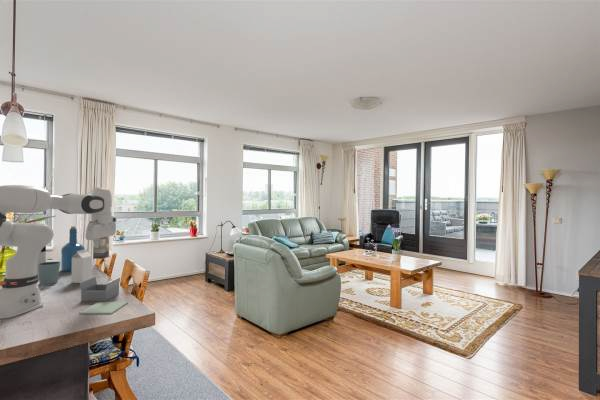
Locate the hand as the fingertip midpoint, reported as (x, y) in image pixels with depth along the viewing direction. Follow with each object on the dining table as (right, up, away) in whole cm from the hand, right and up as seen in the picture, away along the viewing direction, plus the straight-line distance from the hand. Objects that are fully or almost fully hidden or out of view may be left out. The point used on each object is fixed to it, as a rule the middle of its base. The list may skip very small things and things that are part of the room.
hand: (101, 246), depth 162 cm
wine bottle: (-56, -25, +57) cm, 84 cm away
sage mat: (+11, -26, -15) cm, 32 cm away
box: (0, -6, 0) cm, 6 cm away
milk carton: (-30, -25, +28) cm, 48 cm away
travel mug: (-60, -25, +34) cm, 73 cm away
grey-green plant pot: (-45, -25, +24) cm, 57 cm away
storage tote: (0, -26, 0) cm, 26 cm away
